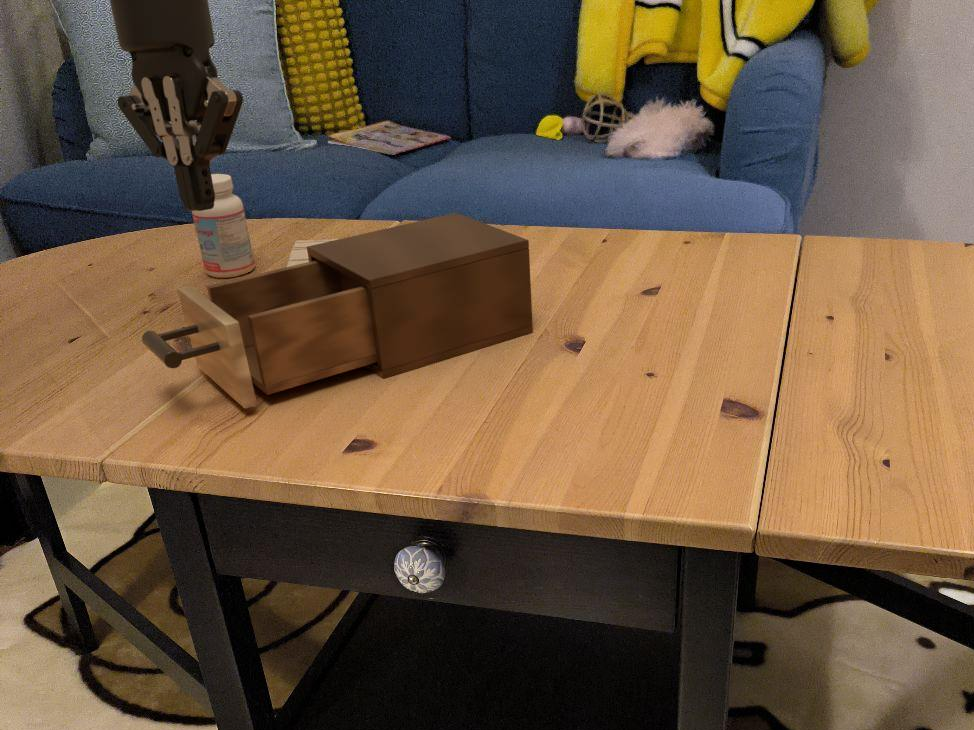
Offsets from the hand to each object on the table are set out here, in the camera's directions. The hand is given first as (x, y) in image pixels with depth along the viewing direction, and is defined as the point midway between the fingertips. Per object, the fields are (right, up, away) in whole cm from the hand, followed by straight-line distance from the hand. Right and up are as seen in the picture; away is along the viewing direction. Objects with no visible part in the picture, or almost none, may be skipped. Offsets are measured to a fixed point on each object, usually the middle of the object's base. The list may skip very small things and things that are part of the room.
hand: (200, 209), depth 85 cm
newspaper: (+9, +6, +37) cm, 39 cm away
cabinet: (+18, -8, +16) cm, 25 cm away
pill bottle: (-9, +4, +36) cm, 37 cm away
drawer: (+5, -13, +7) cm, 16 cm away
